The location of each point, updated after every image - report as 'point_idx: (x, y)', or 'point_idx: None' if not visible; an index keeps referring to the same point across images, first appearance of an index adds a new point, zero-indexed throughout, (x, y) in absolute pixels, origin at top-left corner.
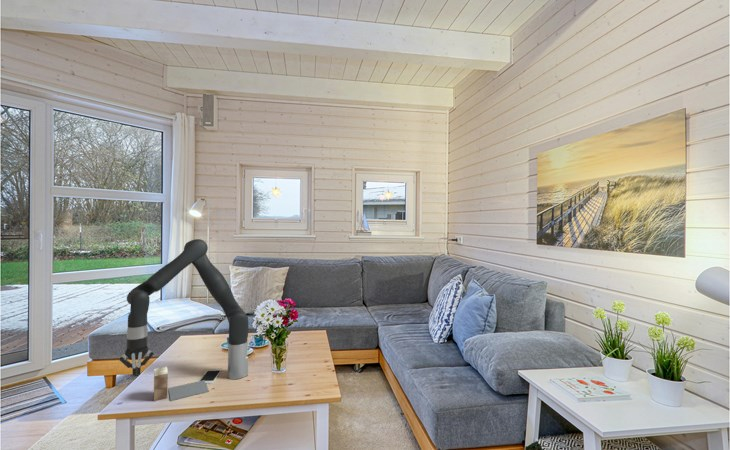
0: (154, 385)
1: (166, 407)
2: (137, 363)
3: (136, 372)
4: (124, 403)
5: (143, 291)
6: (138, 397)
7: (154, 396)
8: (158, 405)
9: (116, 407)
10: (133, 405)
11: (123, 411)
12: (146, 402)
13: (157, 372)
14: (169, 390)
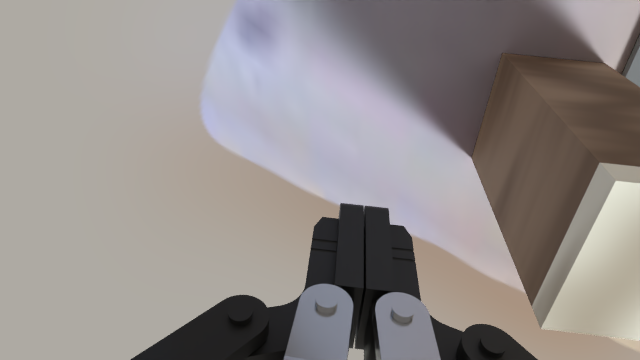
0: (504, 234)
1: (503, 275)
2: (374, 348)
3: (362, 230)
4: (286, 56)
5: None
6: (390, 8)
7: (481, 177)
8: (475, 228)
9: (237, 89)
10: (342, 132)
11: (282, 176)
12: (424, 141)
13: (587, 310)
14: (638, 56)
